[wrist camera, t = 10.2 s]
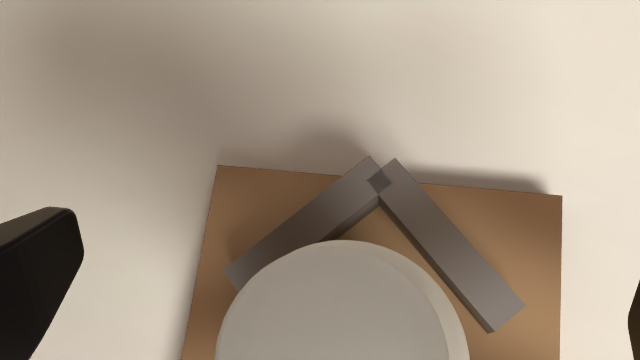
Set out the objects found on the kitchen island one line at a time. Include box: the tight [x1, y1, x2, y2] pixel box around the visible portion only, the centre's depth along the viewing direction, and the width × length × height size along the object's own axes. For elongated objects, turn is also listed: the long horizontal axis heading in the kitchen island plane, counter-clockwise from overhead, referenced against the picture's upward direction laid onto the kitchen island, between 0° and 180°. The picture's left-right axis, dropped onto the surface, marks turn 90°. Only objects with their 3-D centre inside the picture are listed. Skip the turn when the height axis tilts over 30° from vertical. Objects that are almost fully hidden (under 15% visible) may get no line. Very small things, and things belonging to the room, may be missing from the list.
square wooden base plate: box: [181, 156, 562, 360], centre depth 19 cm, size 12×12×2 cm
